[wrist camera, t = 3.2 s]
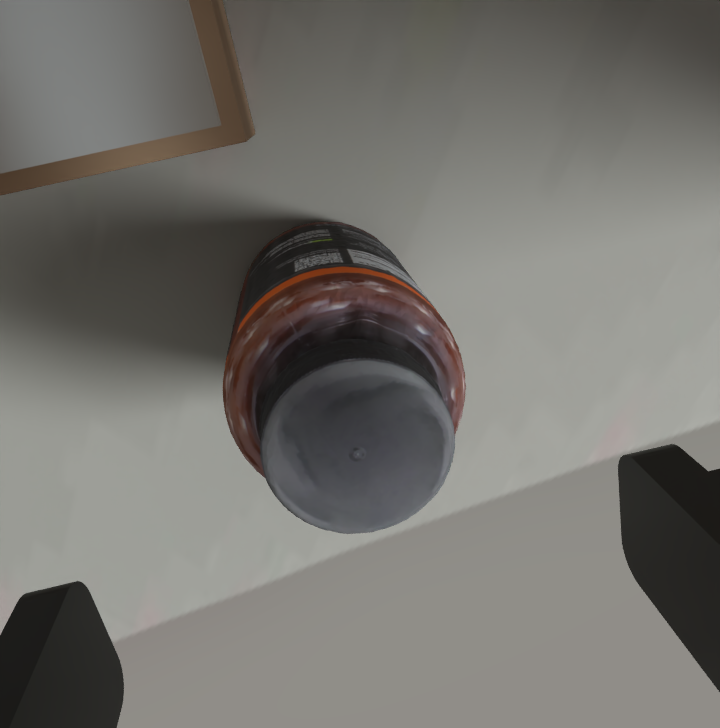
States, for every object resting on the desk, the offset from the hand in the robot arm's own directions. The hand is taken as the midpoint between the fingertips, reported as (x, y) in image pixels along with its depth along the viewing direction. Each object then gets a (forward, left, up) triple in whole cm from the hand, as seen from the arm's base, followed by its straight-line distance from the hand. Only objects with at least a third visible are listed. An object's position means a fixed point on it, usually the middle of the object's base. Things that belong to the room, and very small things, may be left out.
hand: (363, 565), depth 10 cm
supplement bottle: (0, 0, -15) cm, 15 cm away
